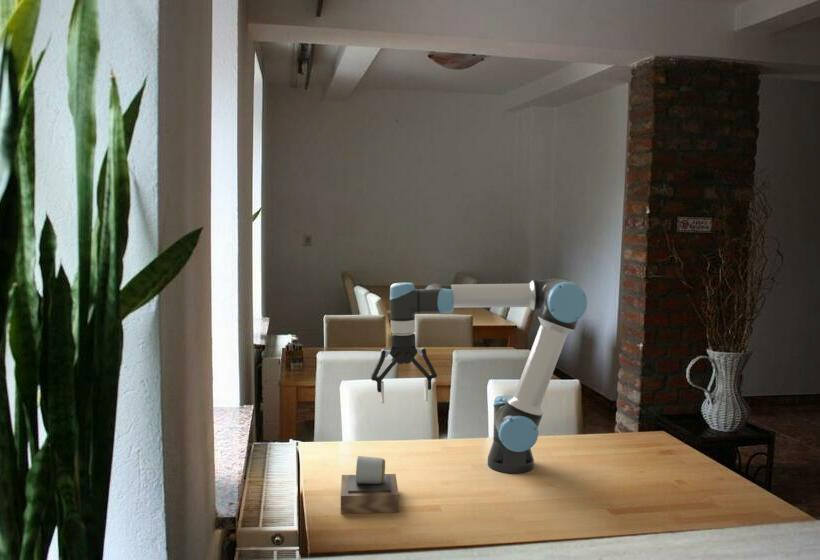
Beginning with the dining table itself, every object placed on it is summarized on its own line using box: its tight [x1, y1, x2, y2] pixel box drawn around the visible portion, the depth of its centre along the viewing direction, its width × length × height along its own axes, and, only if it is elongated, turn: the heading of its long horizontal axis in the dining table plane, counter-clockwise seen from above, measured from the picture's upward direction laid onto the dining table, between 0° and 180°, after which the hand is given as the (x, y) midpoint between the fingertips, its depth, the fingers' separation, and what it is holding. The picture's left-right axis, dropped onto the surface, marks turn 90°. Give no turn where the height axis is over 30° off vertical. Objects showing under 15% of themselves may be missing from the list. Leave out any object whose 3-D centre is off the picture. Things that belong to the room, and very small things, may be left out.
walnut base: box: [340, 473, 400, 514], centre depth 209 cm, size 16×16×6 cm
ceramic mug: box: [355, 455, 386, 484], centre depth 210 cm, size 11×8×8 cm
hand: (404, 401), depth 225 cm, fingers open, 13 cm apart
